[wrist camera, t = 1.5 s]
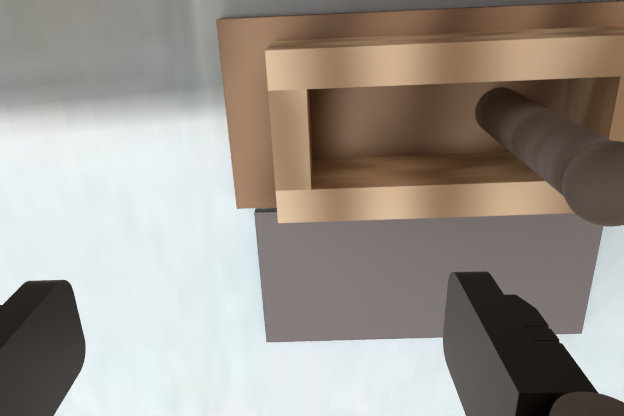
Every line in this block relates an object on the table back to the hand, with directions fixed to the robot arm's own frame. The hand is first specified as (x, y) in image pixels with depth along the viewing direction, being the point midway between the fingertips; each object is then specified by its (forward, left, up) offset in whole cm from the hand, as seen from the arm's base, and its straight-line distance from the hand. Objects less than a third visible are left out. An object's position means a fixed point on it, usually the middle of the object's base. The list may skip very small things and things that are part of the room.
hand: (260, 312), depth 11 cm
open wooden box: (-8, 0, -20) cm, 21 cm away
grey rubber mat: (-8, +11, -21) cm, 25 cm away
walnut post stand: (-8, 0, -21) cm, 22 cm away
